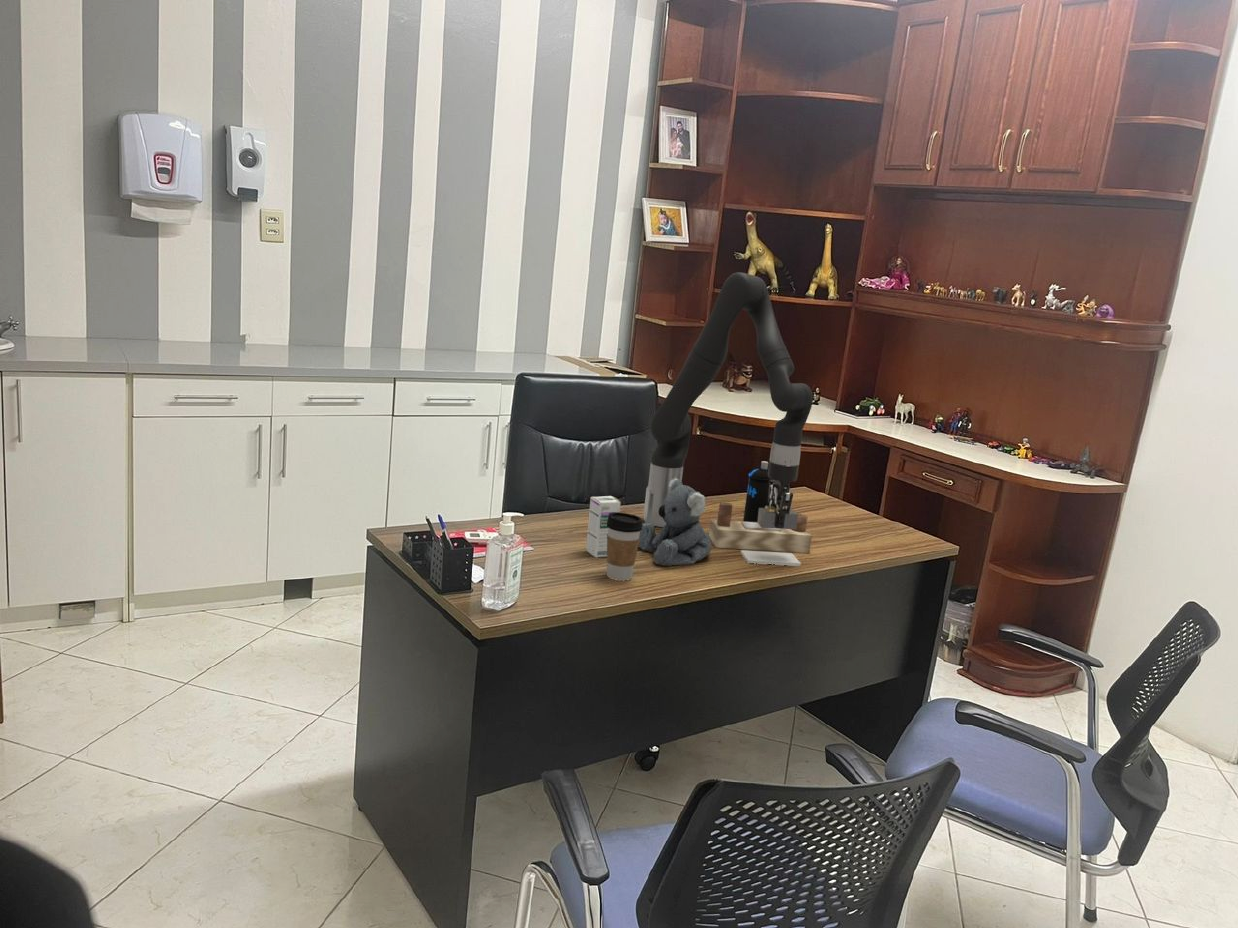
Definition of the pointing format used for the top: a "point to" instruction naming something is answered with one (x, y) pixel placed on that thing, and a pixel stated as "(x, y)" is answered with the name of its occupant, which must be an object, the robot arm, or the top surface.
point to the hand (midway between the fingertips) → (776, 524)
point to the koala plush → (678, 528)
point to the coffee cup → (622, 544)
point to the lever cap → (769, 516)
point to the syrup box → (600, 524)
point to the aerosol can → (757, 493)
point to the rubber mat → (770, 558)
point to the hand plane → (757, 534)
